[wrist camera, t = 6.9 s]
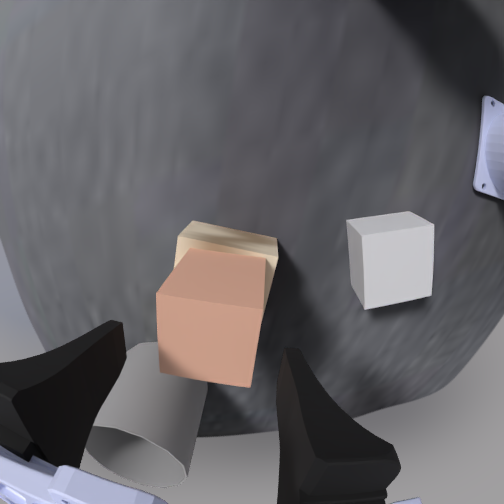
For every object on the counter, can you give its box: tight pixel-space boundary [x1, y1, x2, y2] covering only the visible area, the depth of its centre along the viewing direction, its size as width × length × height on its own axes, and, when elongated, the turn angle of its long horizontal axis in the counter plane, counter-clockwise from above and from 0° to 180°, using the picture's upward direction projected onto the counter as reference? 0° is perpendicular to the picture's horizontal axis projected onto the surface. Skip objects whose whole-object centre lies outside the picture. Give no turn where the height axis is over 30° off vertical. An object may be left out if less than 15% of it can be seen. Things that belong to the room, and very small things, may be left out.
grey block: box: [346, 211, 434, 310], centre depth 20 cm, size 5×5×4 cm
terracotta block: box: [156, 248, 266, 388], centre depth 16 cm, size 4×4×6 cm
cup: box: [85, 342, 208, 488], centre depth 22 cm, size 8×8×10 cm
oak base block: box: [174, 221, 278, 322], centre depth 21 cm, size 6×6×4 cm
